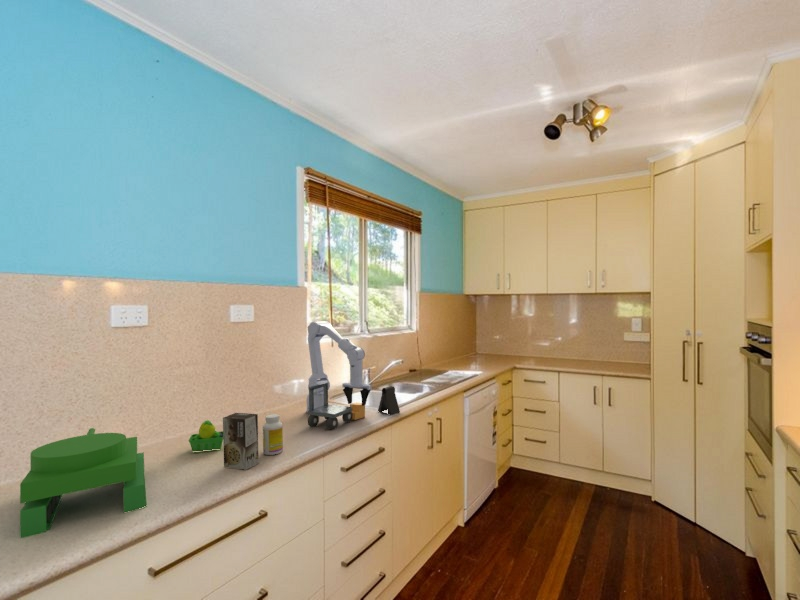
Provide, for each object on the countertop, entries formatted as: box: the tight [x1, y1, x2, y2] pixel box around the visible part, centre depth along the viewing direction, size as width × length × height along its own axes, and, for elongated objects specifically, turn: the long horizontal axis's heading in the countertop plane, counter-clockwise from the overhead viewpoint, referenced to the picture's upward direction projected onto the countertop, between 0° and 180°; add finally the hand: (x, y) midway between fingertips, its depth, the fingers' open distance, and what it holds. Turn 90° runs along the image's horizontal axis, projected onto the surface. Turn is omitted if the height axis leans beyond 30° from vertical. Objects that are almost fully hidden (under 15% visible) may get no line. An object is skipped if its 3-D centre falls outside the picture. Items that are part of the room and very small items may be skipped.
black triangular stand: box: [377, 386, 401, 416], centre depth 192 cm, size 9×6×12 cm, turn 47°
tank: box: [19, 427, 148, 539], centre depth 112 cm, size 24×35×16 cm
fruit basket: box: [188, 420, 223, 452], centre depth 145 cm, size 11×9×11 cm
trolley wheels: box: [307, 411, 353, 431], centre depth 174 cm, size 12×16×5 cm
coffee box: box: [222, 412, 260, 471], centre depth 130 cm, size 9×6×16 cm
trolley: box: [307, 382, 352, 418], centre depth 175 cm, size 14×13×12 cm
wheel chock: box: [349, 402, 366, 421], centre depth 183 cm, size 5×8×6 cm, turn 153°
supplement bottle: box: [262, 413, 284, 456], centre depth 142 cm, size 7×7×13 cm
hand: (356, 404), depth 184 cm, fingers open, 7 cm apart
